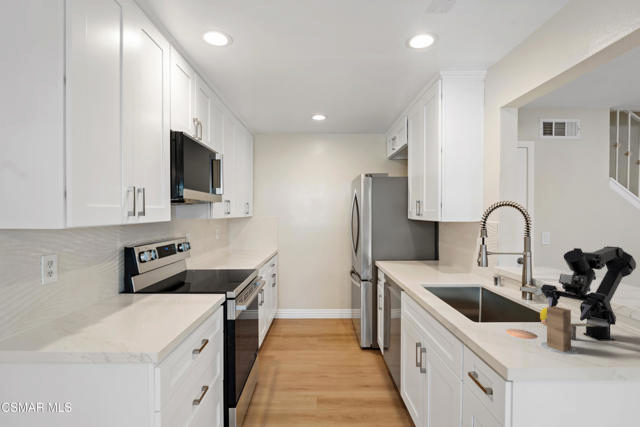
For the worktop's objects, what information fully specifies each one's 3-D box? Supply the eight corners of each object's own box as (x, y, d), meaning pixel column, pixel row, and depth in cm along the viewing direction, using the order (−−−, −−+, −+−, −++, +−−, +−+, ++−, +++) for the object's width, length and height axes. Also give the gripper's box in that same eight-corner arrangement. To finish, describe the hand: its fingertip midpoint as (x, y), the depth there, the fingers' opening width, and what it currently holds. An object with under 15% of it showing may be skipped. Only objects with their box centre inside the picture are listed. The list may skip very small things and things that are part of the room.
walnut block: (554, 344, 108) (554, 306, 109) (571, 349, 104) (570, 309, 104) (547, 346, 106) (546, 307, 106) (563, 351, 102) (563, 311, 102)
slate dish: (561, 345, 110) (561, 341, 110) (586, 357, 100) (586, 354, 100) (533, 345, 110) (533, 342, 110) (556, 358, 100) (556, 354, 100)
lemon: (559, 329, 126) (559, 309, 127) (544, 328, 128) (543, 308, 128) (552, 324, 132) (552, 305, 132) (537, 323, 133) (537, 304, 133)
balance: (607, 346, 109) (607, 321, 110) (610, 352, 105) (610, 326, 105) (541, 334, 121) (541, 311, 121) (540, 339, 116) (540, 315, 116)
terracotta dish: (525, 332, 123) (525, 328, 123) (544, 342, 113) (544, 338, 113) (500, 332, 123) (500, 329, 123) (516, 342, 113) (516, 338, 113)
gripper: (543, 262, 118) (526, 294, 113) (606, 269, 102) (589, 308, 96) (554, 281, 122) (538, 314, 116) (617, 291, 105) (602, 330, 100)
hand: (564, 316), depth 107 cm, fingers open, 9 cm apart
